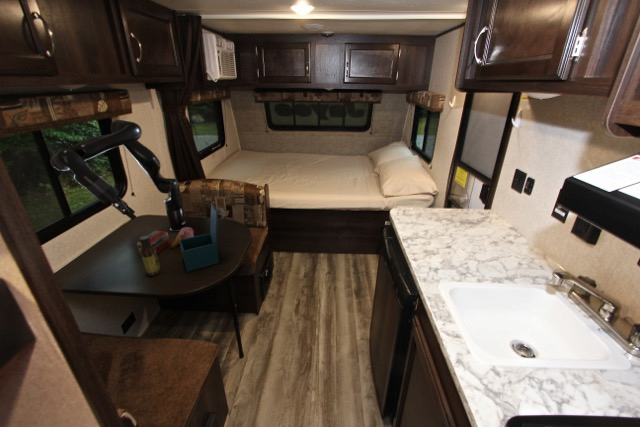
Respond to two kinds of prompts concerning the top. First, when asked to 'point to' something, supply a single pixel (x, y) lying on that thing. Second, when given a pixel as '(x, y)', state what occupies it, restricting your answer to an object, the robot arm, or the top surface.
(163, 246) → the medicine box
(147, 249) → the sauce bottle
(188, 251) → the cool box
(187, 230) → the ice cream
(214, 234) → the cool box lid
